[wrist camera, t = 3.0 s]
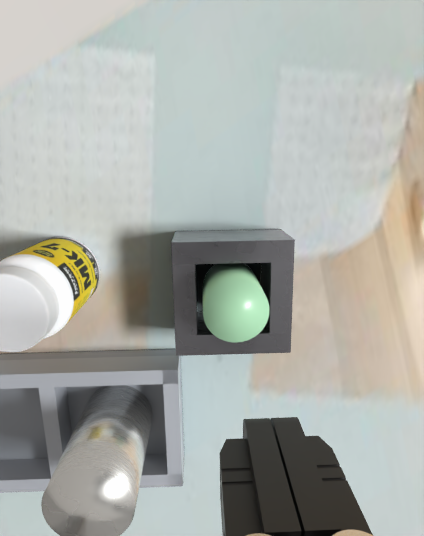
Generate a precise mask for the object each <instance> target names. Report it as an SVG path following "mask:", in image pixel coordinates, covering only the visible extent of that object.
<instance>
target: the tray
mask: <svg viewBox="0 0 424 536" xmlns="http://www.w3.org/2000/svg"><path fill="white" fill-rule="evenodd" d="M117 385H126V386H130V387H133V388H135V389H137V390H138V391H140V392H141V393H142V394H143V395H144V396H145V397H146V398H147V399H148V401H149V403H150V405H151V408H152V413H153V416H152V423H151V428H150V433H149V439H148V444H147V449H146V454H145V460H144V465H143V470H142V475H141V481H140V486H139V488H144V487H172V486H183V472H184V432H183V407H182V382H181V356H176V349H158V350H122V351H85V352H49V353H13V354H0V493H4V492H32V491H45V490H46V488H47V485H48V483H49V481H50V479H51V477H52V475H53V473H54V471H55V469H56V467H57V465H58V463H59V460H60V458H61V456H62V454H63V452H64V450H65V448H66V446H67V444H68V442H69V440H70V437H71V435H72V433H73V431H74V429H75V427H76V425H77V423H78V421H79V419H80V417H81V415H82V412H83V410H84V408H85V406H86V404H87V402H88V400H89V399H90V397H91V396H92V395H93V394H94V393H95V392H96V391H97V390H99V389H101V388H103V387H105V386H117Z"/></svg>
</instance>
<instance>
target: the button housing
mask: <svg viewBox="0 0 424 536" xmlns="http://www.w3.org/2000/svg"><path fill="white" fill-rule="evenodd" d="M294 241H295V240H294V239H293V238H292V237H290V236H289V235H288V234H286V233H285V232H284V231H282V230H281V229H261V230H212V231H175V234H174V237H173V239H172V242H171V248H172V272H173V295H174V319H175V342H176V356H181V355H216V354H252V353H288V352H290V351H291V323H292V296H293V268H294ZM228 263H261V280H260V286H261V288H262V290H263V292H264V293H265V295H266V297H267V300H268V303H269V318H268V321H267V323H266V325H265V327H264V328H263V330H262V331H261V332H260V333H259V334H258V335H256V336H255V337H253V338H252V339H250V340H247V341H243V342H227V341H224V340H221V339H219V338H218V337H216V336H215V335H213V334H212V333H211V332H210V330H209V329H208V328H207V326H206V324H205V321H204V317H203V312H197V279H196V264H228Z"/></svg>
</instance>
